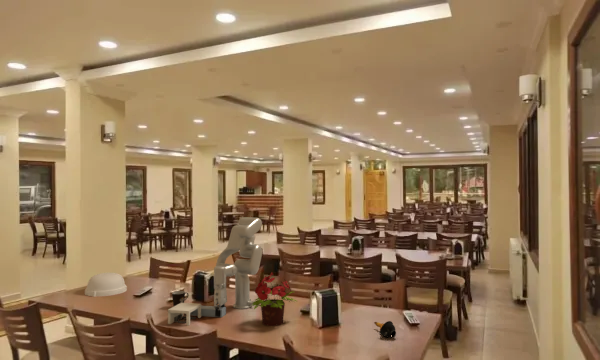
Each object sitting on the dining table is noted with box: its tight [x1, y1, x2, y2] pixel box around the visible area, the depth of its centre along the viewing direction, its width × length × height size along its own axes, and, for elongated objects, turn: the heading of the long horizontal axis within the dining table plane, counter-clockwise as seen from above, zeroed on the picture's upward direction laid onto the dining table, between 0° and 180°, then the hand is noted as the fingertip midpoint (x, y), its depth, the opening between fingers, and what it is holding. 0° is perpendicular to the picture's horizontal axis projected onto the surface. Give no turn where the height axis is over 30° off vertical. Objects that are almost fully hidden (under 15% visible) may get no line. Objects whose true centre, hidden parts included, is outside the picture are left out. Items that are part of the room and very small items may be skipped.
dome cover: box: [84, 272, 128, 298], centre depth 338 cm, size 32×30×14 cm
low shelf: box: [167, 302, 202, 326], centre depth 263 cm, size 14×16×8 cm
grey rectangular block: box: [190, 305, 227, 318], centre depth 275 cm, size 24×6×4 cm, turn 77°
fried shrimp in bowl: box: [373, 320, 397, 339], centre depth 237 cm, size 9×11×18 cm
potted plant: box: [252, 271, 297, 327], centre depth 256 cm, size 30×27×30 cm
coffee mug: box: [171, 290, 189, 307], centre depth 292 cm, size 12×9×10 cm
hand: (220, 314), depth 273 cm, fingers closed on grey rectangular block, 6 cm apart
